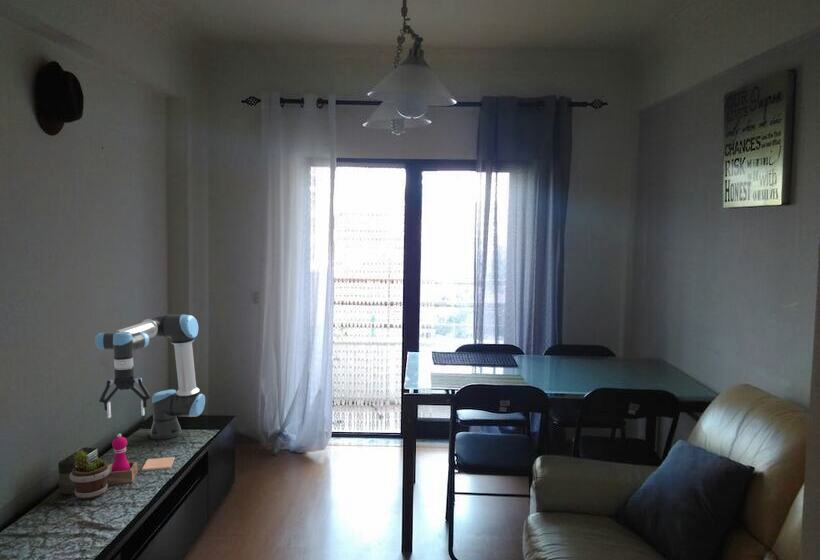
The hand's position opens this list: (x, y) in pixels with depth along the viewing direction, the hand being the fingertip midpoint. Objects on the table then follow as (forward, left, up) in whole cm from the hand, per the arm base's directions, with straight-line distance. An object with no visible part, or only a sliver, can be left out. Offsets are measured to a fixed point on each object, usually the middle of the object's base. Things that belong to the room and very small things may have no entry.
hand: (126, 416), depth 270 cm
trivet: (-12, +10, -27) cm, 31 cm away
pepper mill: (+1, -3, -28) cm, 28 cm away
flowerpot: (+16, -11, -28) cm, 34 cm away
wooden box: (+1, -3, -27) cm, 27 cm away
